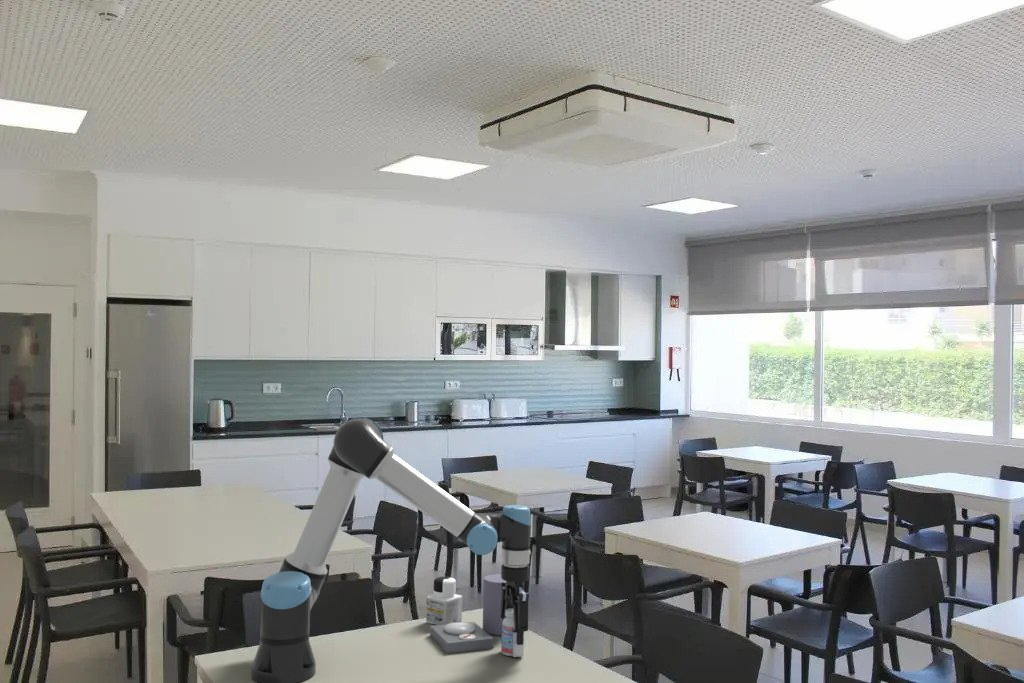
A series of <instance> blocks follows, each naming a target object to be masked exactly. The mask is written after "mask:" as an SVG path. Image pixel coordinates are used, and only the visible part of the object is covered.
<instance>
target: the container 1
mask: <svg viewBox="0 0 1024 683" xmlns="http://www.w3.org/2000/svg"><path fill="white" fill-rule="evenodd" d="M456 586H457V580H456V579H455V578H454V577H452V576H438V577H436V578H434V580H433V594H430V595H428V596H426V610H425V611H426V612H425V614H426V616H425V622H426V623H427V624H431V625H434V626H436V625H446V624H450V623H457V622H463V621H462V618H463V617H462V616H463V613H462V612H463V595H460V594H456V588H457V587H456Z"/></svg>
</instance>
